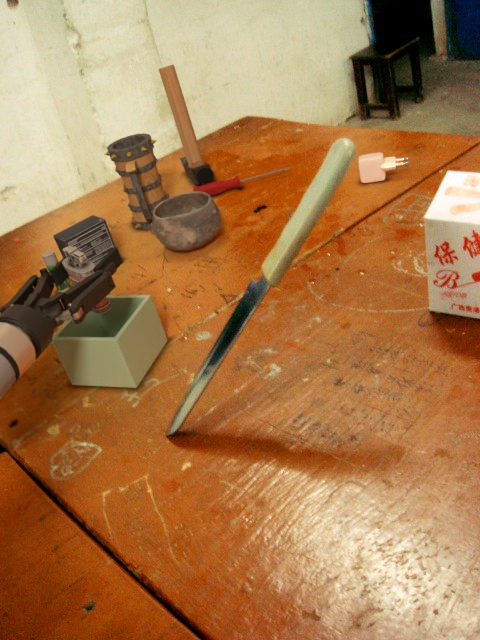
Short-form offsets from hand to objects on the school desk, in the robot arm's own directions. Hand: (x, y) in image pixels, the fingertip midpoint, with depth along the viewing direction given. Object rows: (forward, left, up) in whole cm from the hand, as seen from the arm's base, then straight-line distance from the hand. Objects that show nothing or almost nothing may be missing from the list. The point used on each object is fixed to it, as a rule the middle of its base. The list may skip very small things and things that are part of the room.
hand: (96, 256), depth 103 cm
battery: (-27, +19, -19) cm, 38 cm away
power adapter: (+35, +64, -19) cm, 75 cm away
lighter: (0, -5, -6) cm, 8 cm away
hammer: (-17, +75, -19) cm, 79 cm away
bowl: (-3, +37, -19) cm, 42 cm away
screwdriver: (-1, +66, -19) cm, 69 cm away
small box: (-24, +28, -19) cm, 42 cm away
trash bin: (0, -4, -18) cm, 19 cm away
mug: (-19, +49, -19) cm, 56 cm away
